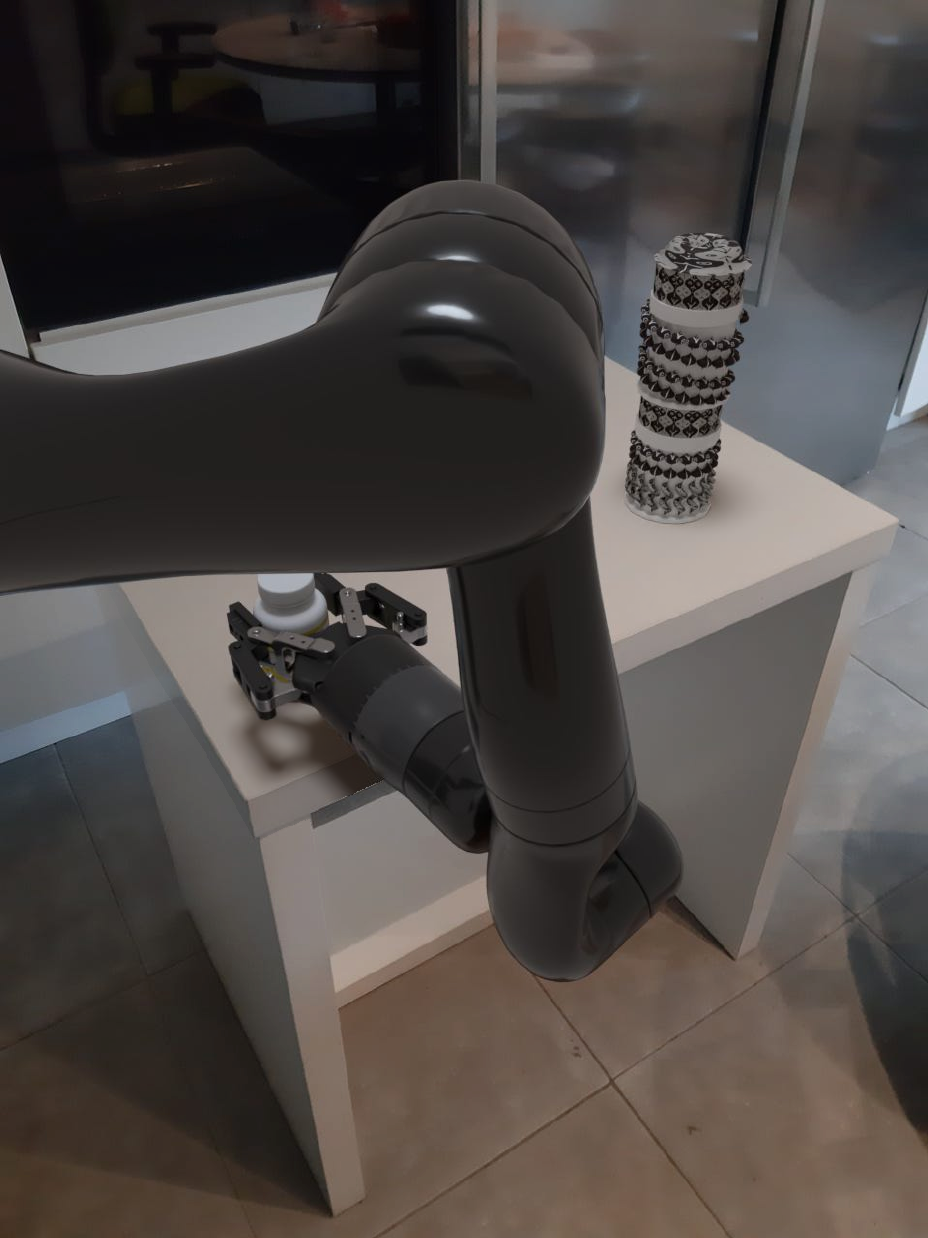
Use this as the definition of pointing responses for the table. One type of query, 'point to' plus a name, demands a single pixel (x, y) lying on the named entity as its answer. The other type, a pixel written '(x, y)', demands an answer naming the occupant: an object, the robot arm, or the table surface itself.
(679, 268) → the decorative candle
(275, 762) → the table surface
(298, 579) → the supplement bottle
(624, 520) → the table surface
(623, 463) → the table surface
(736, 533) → the table surface
